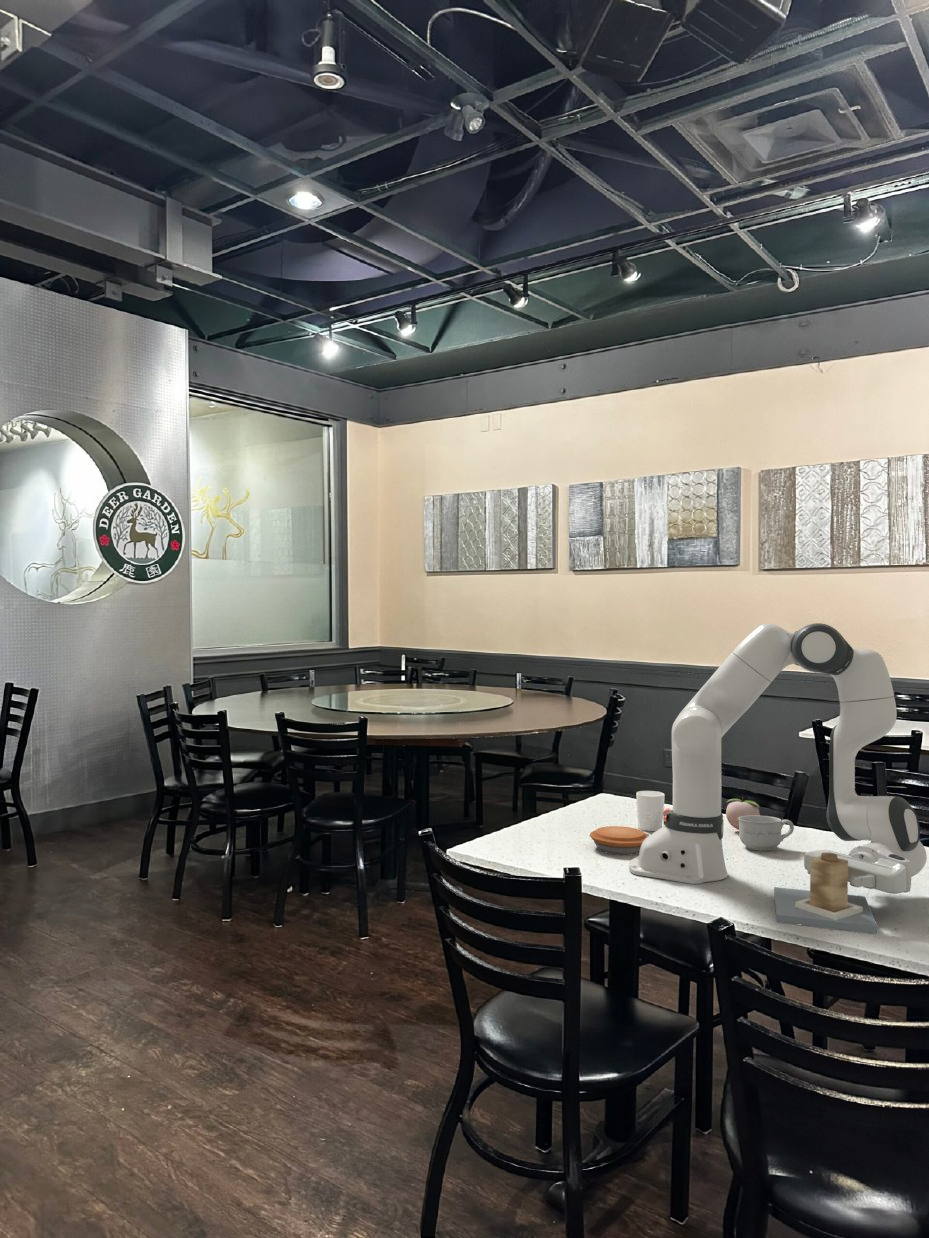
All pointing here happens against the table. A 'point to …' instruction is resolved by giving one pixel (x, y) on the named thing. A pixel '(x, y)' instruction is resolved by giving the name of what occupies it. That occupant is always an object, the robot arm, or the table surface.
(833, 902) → the oak pillar
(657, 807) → the white cup
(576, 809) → the table surface
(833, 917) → the socket frame
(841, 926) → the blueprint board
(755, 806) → the decorative fruit
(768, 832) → the teacup
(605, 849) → the pie
